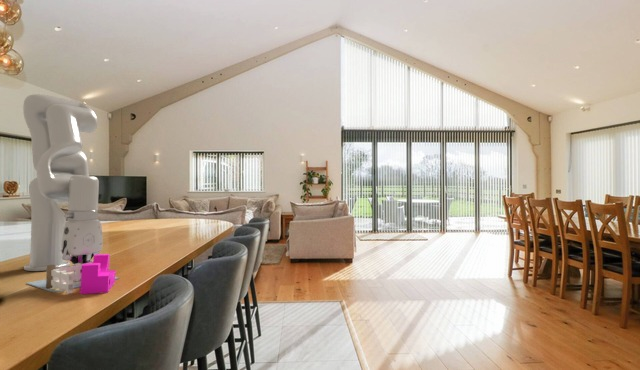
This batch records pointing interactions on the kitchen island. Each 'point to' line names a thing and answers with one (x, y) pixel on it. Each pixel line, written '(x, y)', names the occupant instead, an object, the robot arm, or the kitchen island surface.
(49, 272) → the fixed panel and post
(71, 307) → the kitchen island surface
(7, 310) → the kitchen island surface
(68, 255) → the robot arm
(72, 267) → the swing panel
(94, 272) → the toy block
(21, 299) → the kitchen island surface
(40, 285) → the mat
